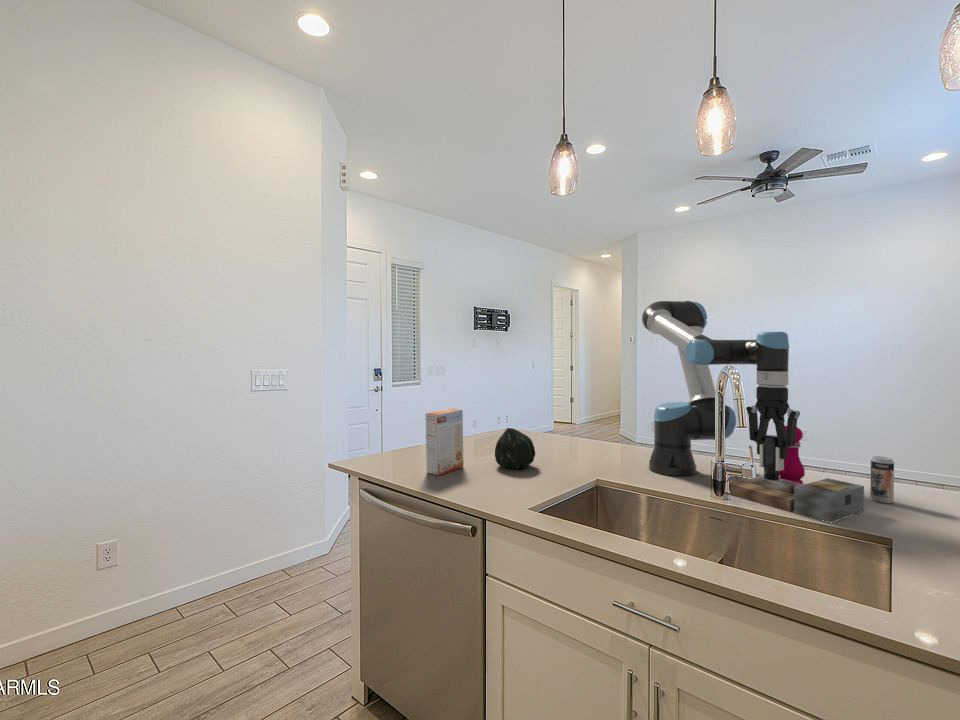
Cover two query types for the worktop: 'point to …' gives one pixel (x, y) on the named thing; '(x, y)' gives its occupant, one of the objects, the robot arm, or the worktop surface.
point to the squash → (514, 450)
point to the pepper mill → (793, 461)
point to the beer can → (882, 479)
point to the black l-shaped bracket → (773, 461)
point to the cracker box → (444, 441)
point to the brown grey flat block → (803, 496)
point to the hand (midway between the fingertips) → (771, 468)
